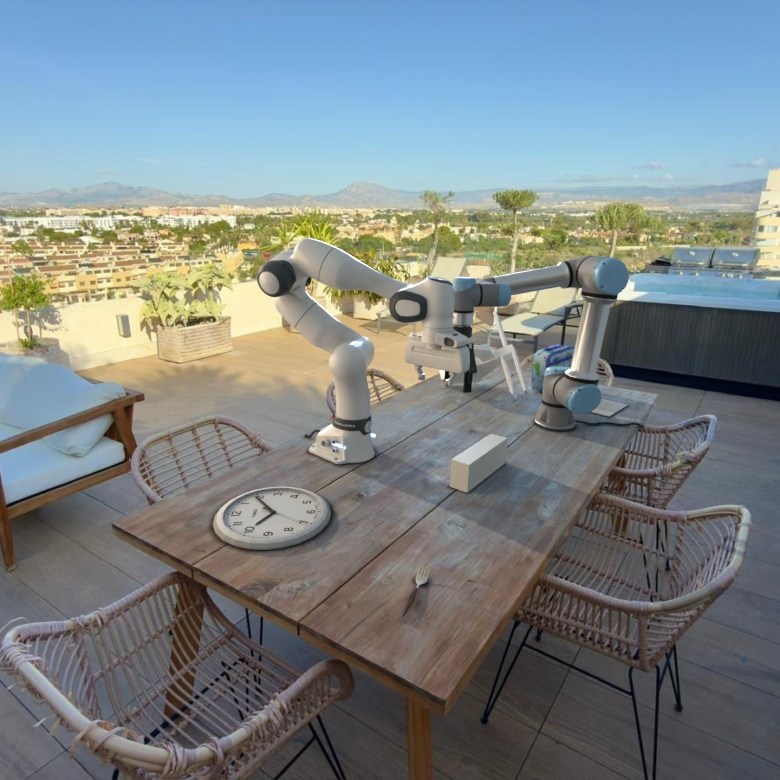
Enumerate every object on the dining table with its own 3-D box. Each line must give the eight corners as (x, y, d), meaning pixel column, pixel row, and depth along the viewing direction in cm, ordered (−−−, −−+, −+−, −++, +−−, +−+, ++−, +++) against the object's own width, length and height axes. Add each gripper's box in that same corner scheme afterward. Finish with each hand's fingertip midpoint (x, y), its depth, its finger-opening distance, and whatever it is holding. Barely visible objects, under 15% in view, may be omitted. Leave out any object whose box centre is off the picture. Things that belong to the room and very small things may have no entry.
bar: (488, 458, 174) (490, 433, 171) (505, 463, 170) (507, 437, 168) (449, 486, 154) (451, 459, 152) (467, 492, 151) (469, 464, 148)
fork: (396, 617, 102) (396, 608, 101) (420, 569, 116) (420, 561, 116) (409, 620, 101) (409, 612, 101) (431, 572, 116) (431, 564, 115)
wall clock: (329, 541, 123) (198, 546, 121) (329, 547, 124) (199, 552, 121) (332, 482, 152) (226, 484, 149) (332, 487, 152) (226, 489, 150)
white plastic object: (461, 429, 252) (437, 405, 227) (444, 352, 274) (420, 323, 250) (535, 404, 240) (518, 377, 215) (510, 326, 262) (492, 293, 237)
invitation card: (608, 416, 214) (573, 407, 224) (608, 416, 214) (573, 408, 224) (628, 404, 229) (594, 396, 238) (628, 405, 229) (594, 397, 238)
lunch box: (547, 397, 237) (552, 352, 231) (526, 391, 245) (531, 348, 238) (574, 386, 255) (580, 344, 249) (554, 381, 262) (559, 340, 256)
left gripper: (400, 332, 151) (399, 378, 155) (462, 342, 140) (459, 392, 144) (413, 329, 156) (411, 374, 160) (474, 339, 144) (470, 386, 149)
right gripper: (434, 319, 182) (431, 377, 188) (470, 332, 160) (465, 398, 166) (453, 318, 184) (450, 376, 191) (491, 331, 162) (486, 396, 169)
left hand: (434, 382), depth 152 cm, fingers open, 8 cm apart
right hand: (457, 386), depth 178 cm, fingers open, 13 cm apart
